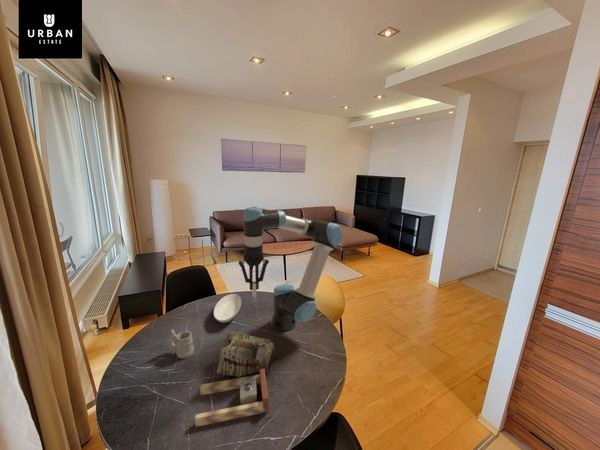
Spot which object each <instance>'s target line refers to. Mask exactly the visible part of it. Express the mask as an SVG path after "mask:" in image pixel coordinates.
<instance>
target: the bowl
mask: <svg viewBox="0 0 600 450" xmlns="http://www.w3.org/2000/svg"><path fill="white" fill-rule="evenodd" d="M241 307H242V299H241V296H240V295H239V294H236V293H231V294H227V295H225V296H223V297H222V298H221V299H219V301H217V303H216V304H215V306H214V308H213V309H214V310H213V316H214V318H215V320H216V321H218V322H219V323H228V322H230V321H232V320H233V319H234V318H235V317H236V316H237V314H238V313H239V311H240V309H241Z"/></svg>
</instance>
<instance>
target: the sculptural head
mask: <svg viewBox="0 0 600 450" xmlns="http://www.w3.org/2000/svg"><path fill="white" fill-rule="evenodd" d="M225 336H226V338H225V339H224V340H223V341H222V343H221V344H220V348H219V359H218V360H219V362H218V367H217V369H216V373H217V375H218V376H219V375H220V376H231V377H235V378H242V377H246V376H247V377H248V376H253V375H255V374H257V373H260V369H264V368H265V373H269V372H270V366H271V363H272V360H273V359H274V353H275V347H274V342H272V340H271V339H268V338H267V339H266V338H264V337H262V338H260V337H257V336H253V335H249V334H243V333H239V332H236V331H231V332H229V333H228V334H226V335H225Z"/></svg>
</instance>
